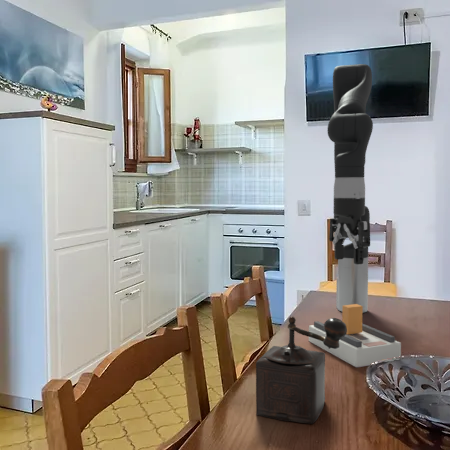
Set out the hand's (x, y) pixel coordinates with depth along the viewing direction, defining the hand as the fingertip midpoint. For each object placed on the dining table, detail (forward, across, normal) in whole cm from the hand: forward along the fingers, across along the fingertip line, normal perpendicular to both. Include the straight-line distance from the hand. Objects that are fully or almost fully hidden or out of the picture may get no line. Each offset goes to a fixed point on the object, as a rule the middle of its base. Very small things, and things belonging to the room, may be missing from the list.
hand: (348, 261), depth 122 cm
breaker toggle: (+16, +5, -2) cm, 17 cm away
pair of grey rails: (+17, +5, -2) cm, 17 cm away
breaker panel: (+21, +5, -2) cm, 21 cm away
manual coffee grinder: (+21, +30, -28) cm, 46 cm away
